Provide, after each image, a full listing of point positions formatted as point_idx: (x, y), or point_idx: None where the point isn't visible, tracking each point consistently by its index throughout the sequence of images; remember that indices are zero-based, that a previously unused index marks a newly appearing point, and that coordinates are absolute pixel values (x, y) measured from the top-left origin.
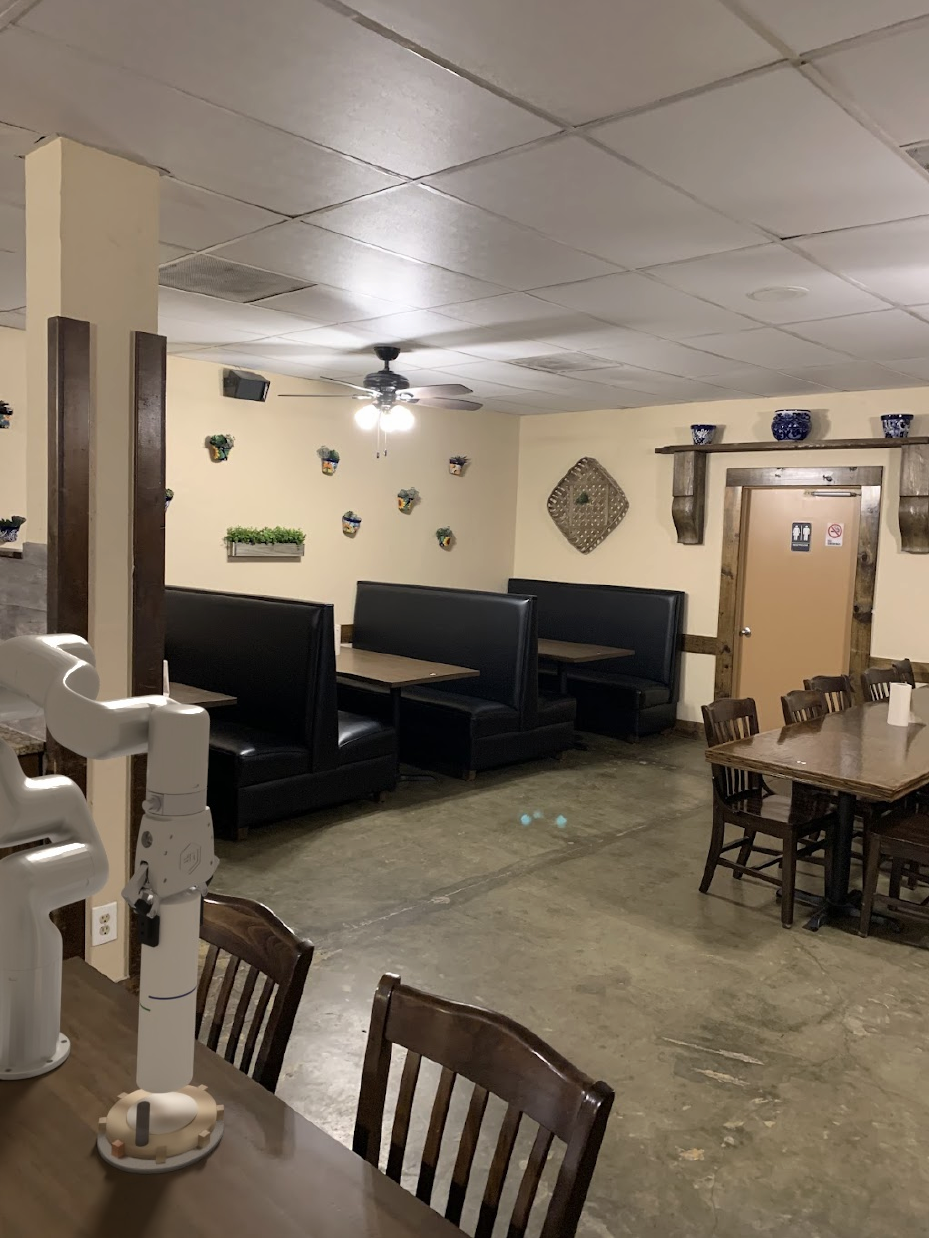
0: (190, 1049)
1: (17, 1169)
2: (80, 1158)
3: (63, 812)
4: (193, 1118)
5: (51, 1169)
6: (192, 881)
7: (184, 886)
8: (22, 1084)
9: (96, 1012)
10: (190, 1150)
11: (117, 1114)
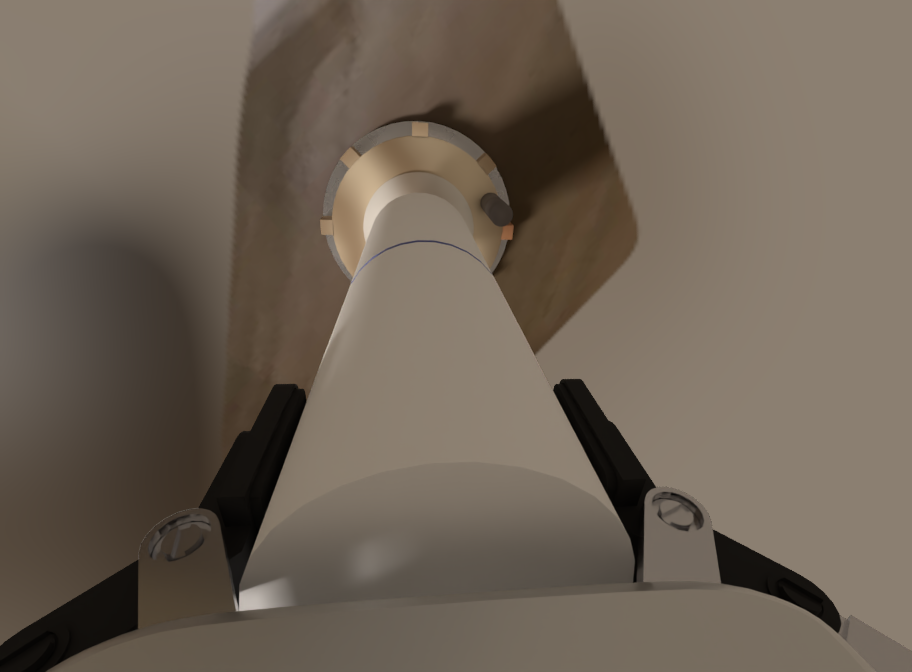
0: (406, 206)
1: (562, 318)
2: (513, 274)
3: None
4: (403, 174)
5: (545, 286)
6: (412, 668)
7: (533, 632)
8: None
9: None
10: None
11: None
